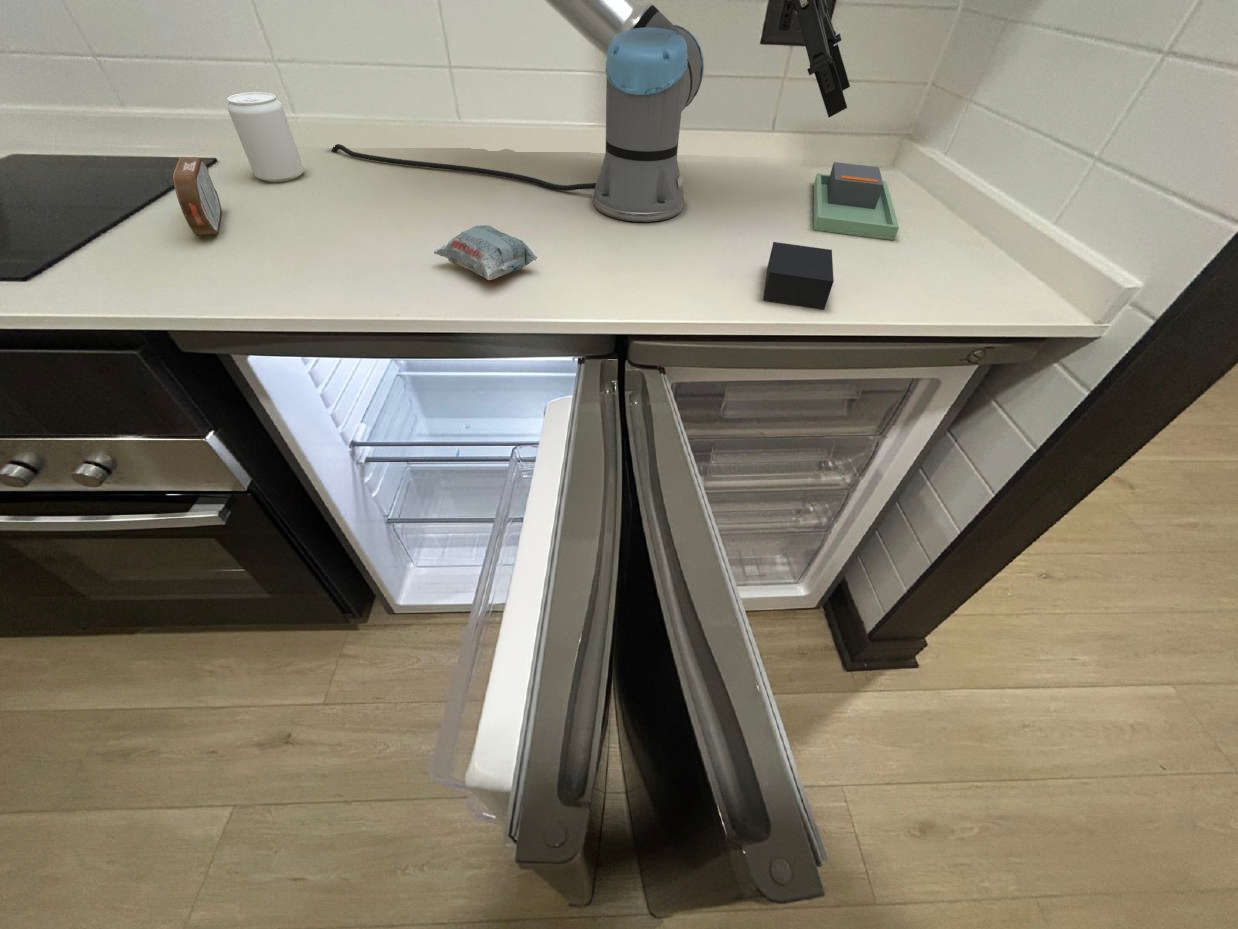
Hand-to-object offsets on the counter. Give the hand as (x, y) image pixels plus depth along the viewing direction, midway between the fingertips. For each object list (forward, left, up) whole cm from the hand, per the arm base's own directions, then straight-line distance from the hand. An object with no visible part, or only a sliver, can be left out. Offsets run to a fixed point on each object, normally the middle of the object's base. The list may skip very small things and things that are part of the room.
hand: (839, 101), depth 88 cm
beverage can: (-93, -20, -16) cm, 97 cm away
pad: (+7, +3, -15) cm, 16 cm away
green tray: (+7, -2, -15) cm, 17 cm away
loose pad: (-2, -34, -15) cm, 37 cm away
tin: (-89, -41, -16) cm, 100 cm away
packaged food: (-44, -42, -16) cm, 63 cm away
